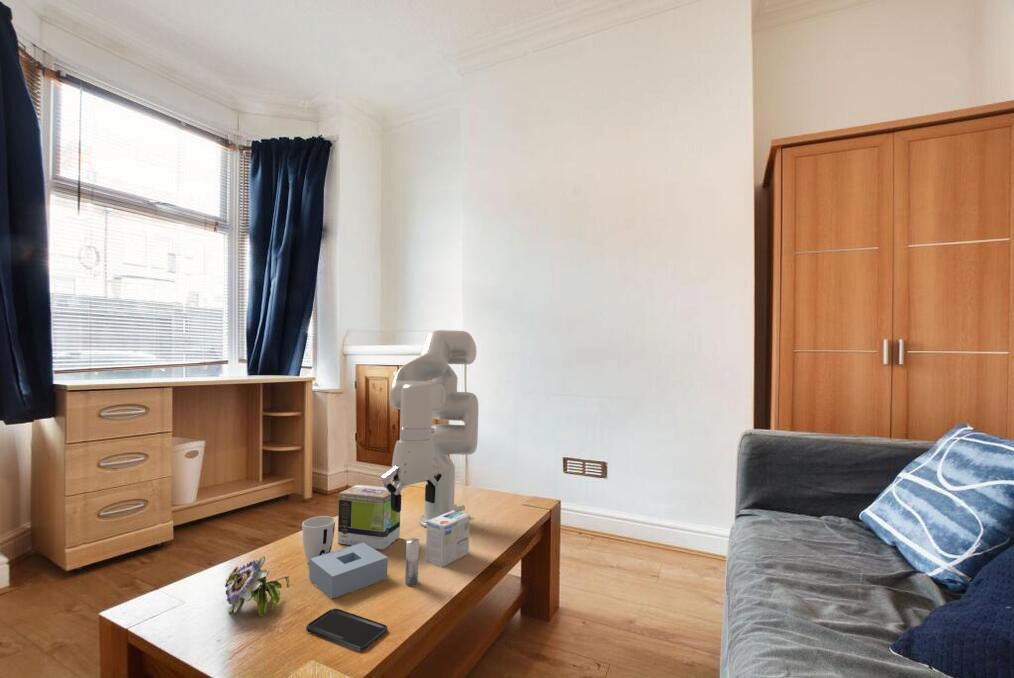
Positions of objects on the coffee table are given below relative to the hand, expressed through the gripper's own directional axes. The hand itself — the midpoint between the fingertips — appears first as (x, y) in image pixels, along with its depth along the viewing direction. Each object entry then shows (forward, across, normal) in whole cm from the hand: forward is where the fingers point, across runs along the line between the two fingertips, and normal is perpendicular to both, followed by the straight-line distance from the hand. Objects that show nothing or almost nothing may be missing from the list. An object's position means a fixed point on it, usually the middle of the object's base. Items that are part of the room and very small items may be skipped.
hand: (413, 506), depth 110 cm
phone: (+19, +20, +7) cm, 28 cm away
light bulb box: (+18, -16, -5) cm, 25 cm away
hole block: (+18, +10, -12) cm, 24 cm away
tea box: (+18, -6, -29) cm, 35 cm away
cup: (+18, +10, -27) cm, 35 cm away
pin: (+18, 0, 0) cm, 18 cm away
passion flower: (+19, +30, -15) cm, 38 cm away
